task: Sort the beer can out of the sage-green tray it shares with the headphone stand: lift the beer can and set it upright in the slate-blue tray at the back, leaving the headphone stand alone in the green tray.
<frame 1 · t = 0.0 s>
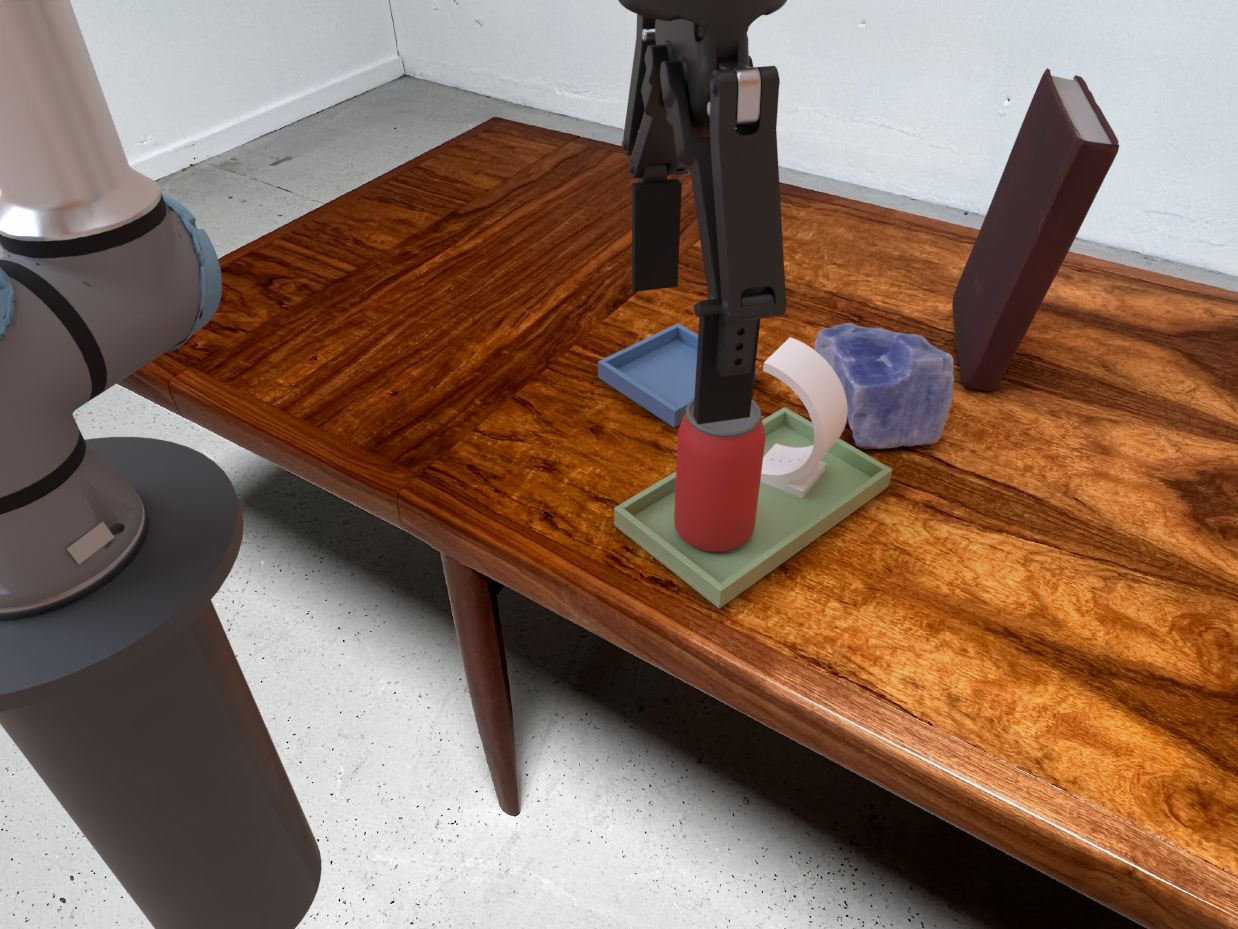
hand: (684, 345, 50), 25 cm above the table, tool pointing down, fingers open, 13 cm apart
mineral: (871, 409, 88), on the table
headphone stand: (793, 477, 80), resting in green tray
book: (985, 354, 96), on the table
beer can: (713, 530, 75), resting on green tray
blue tray: (675, 380, 92), on the table
green tray: (754, 505, 78), on the table
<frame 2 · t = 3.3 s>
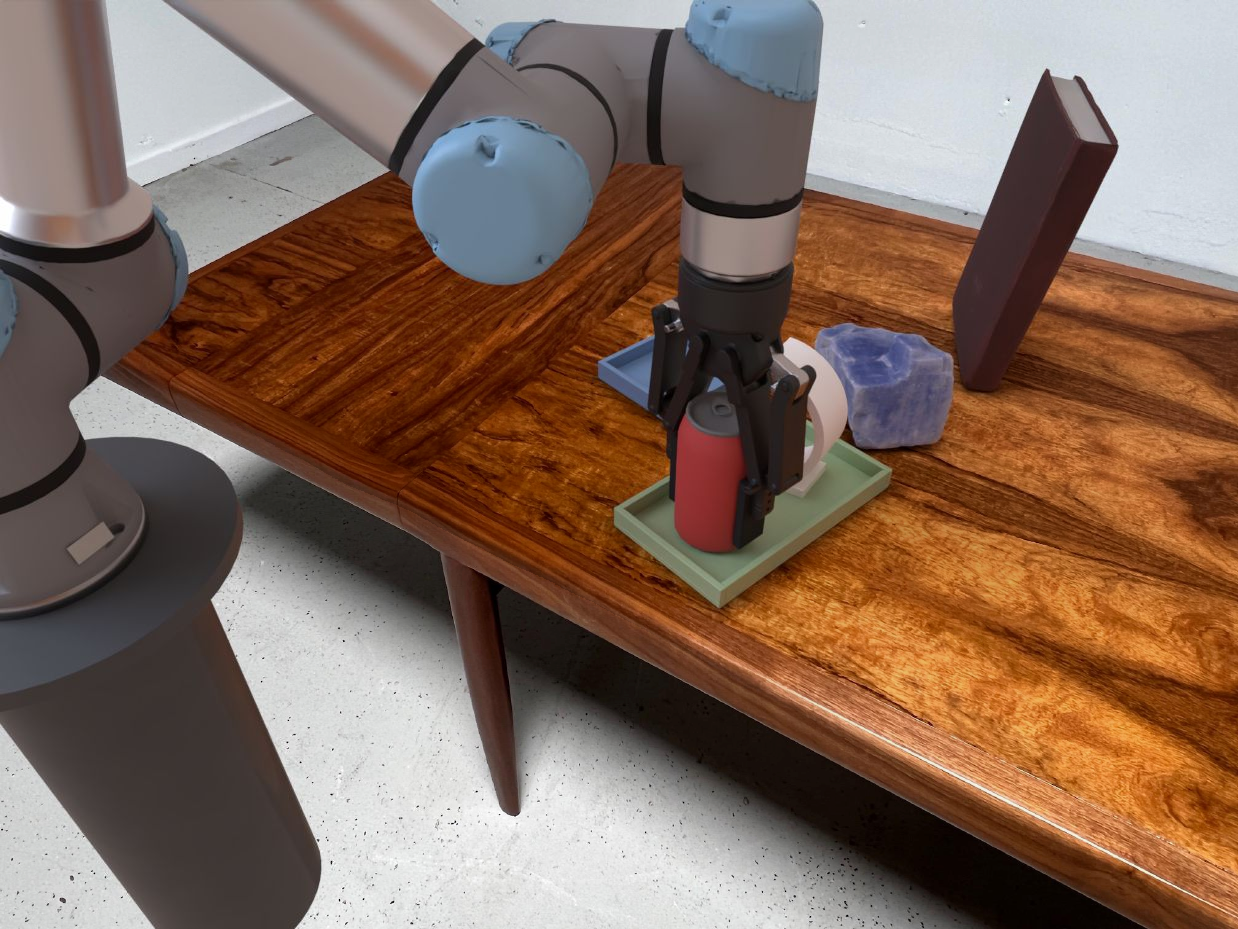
hand: (714, 515, 74), 2 cm above the table, tool pointing down, fingers closed on beer can, 7 cm apart
beer can: (713, 530, 75), resting on green tray, touching gripper
everything else where it was.
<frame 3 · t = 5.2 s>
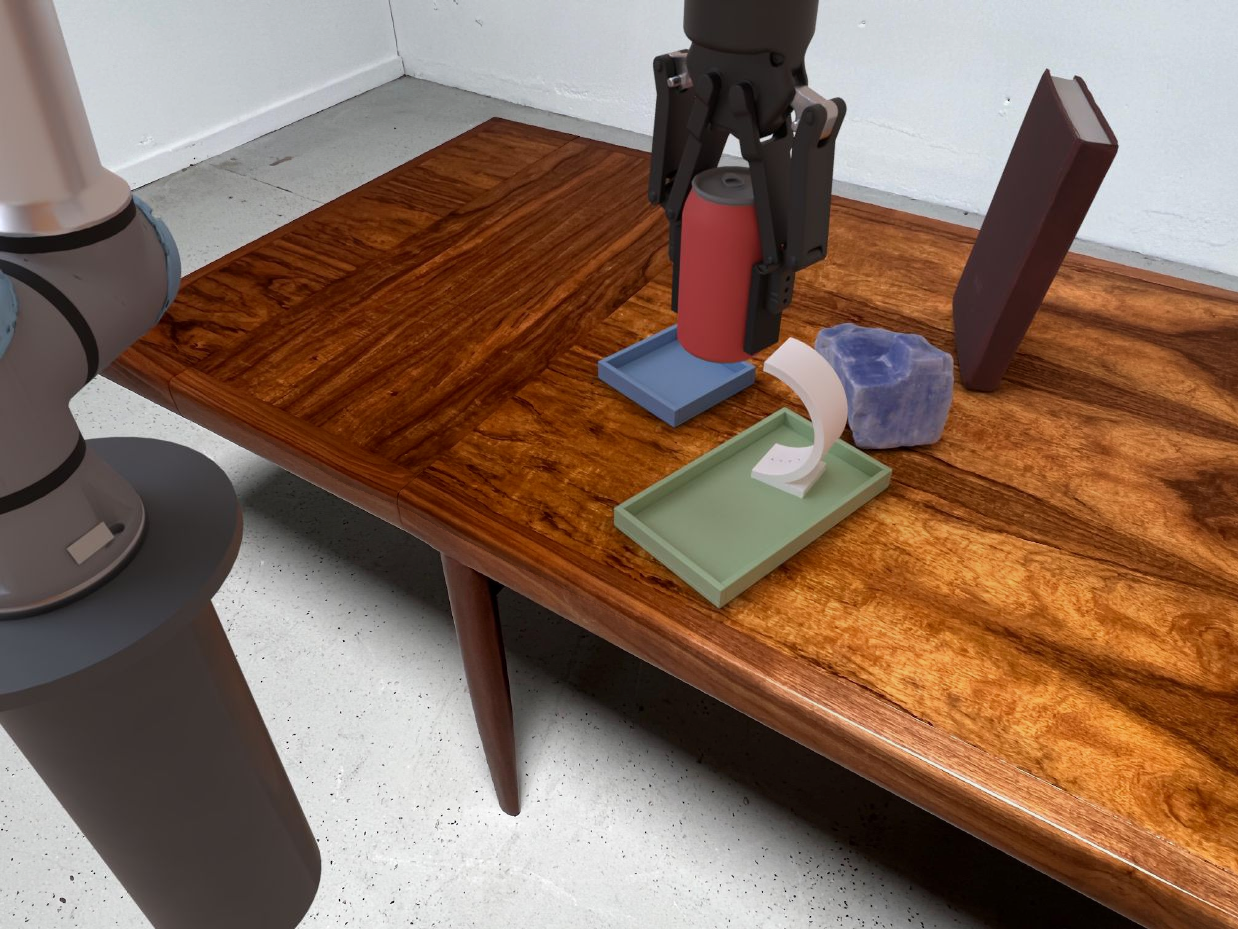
hand: (723, 325, 65), 19 cm above the table, tool pointing down, fingers closed on beer can, 6 cm apart
beer can: (721, 345, 66), point 17 cm above the table, touching gripper
everything else where it was.
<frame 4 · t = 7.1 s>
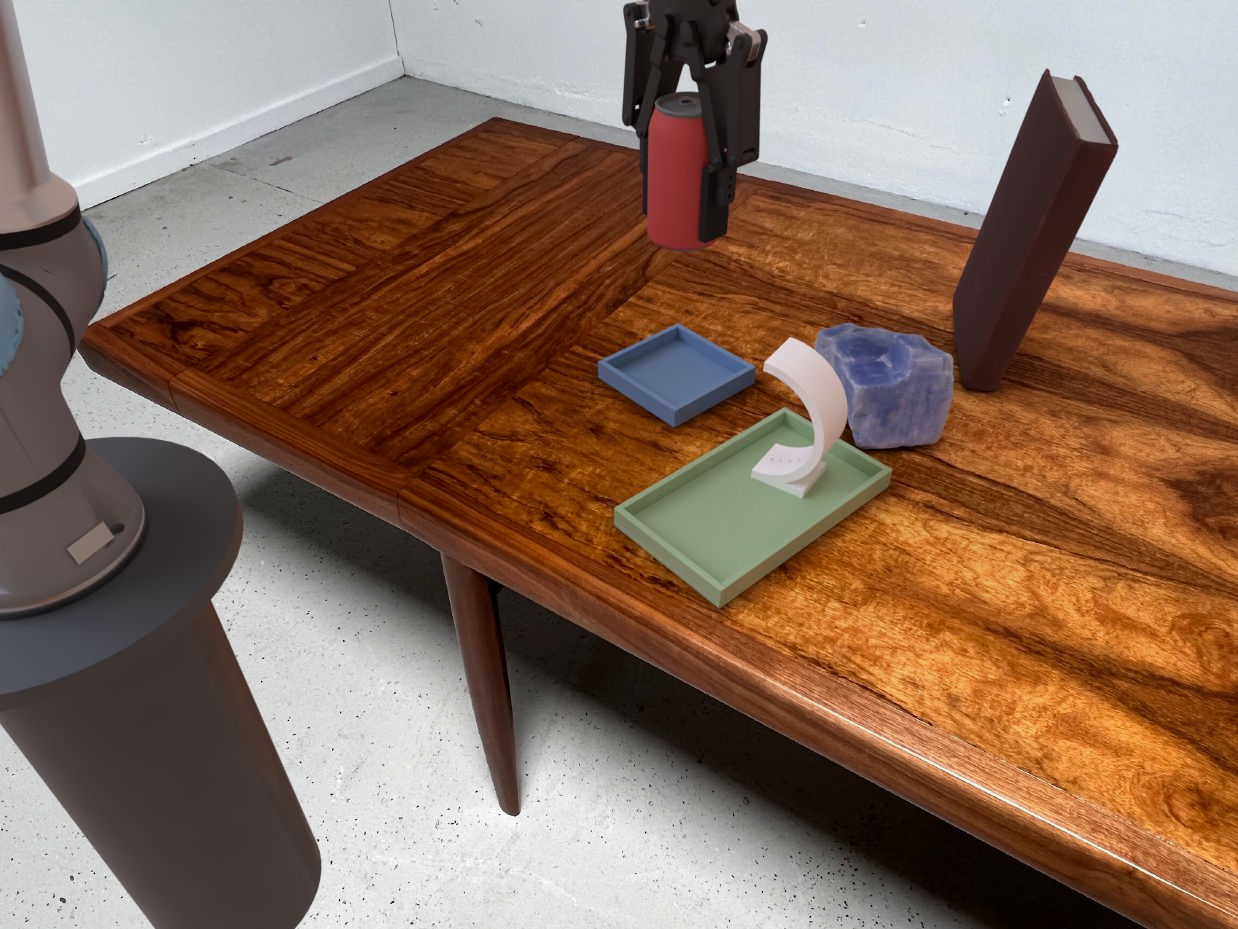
hand: (683, 223, 81), 17 cm above the table, tool pointing down, fingers closed on beer can, 6 cm apart
beer can: (683, 240, 82), point 15 cm above the table, touching gripper
everything else where it was.
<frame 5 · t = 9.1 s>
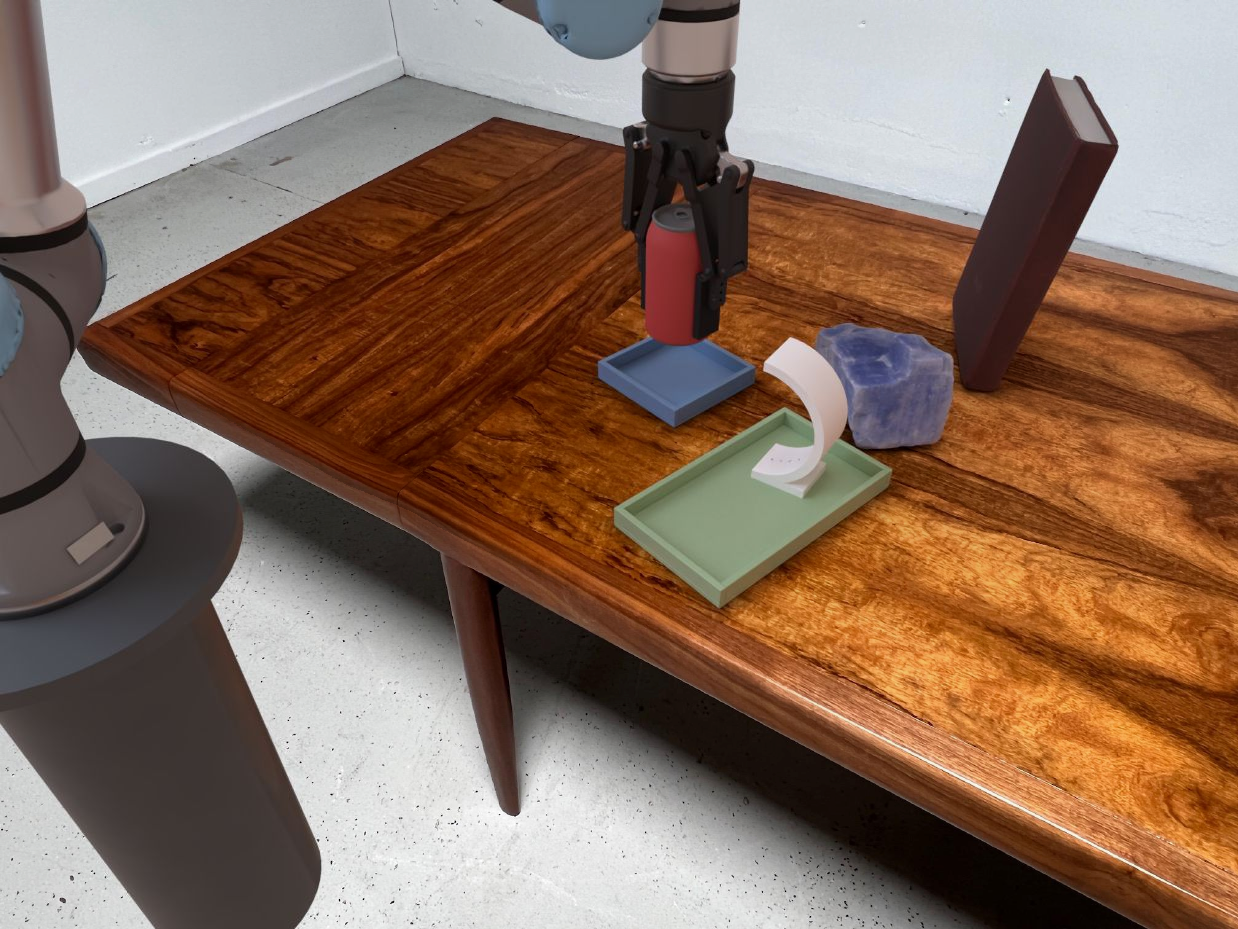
hand: (679, 318, 87), 7 cm above the table, tool pointing down, fingers closed on beer can, 6 cm apart
beer can: (678, 333, 88), point 6 cm above the table, touching gripper
everything else where it was.
when the fingers open (2 cm above the table, at t = 11.3 s): beer can stays where it is, resting on blue tray.
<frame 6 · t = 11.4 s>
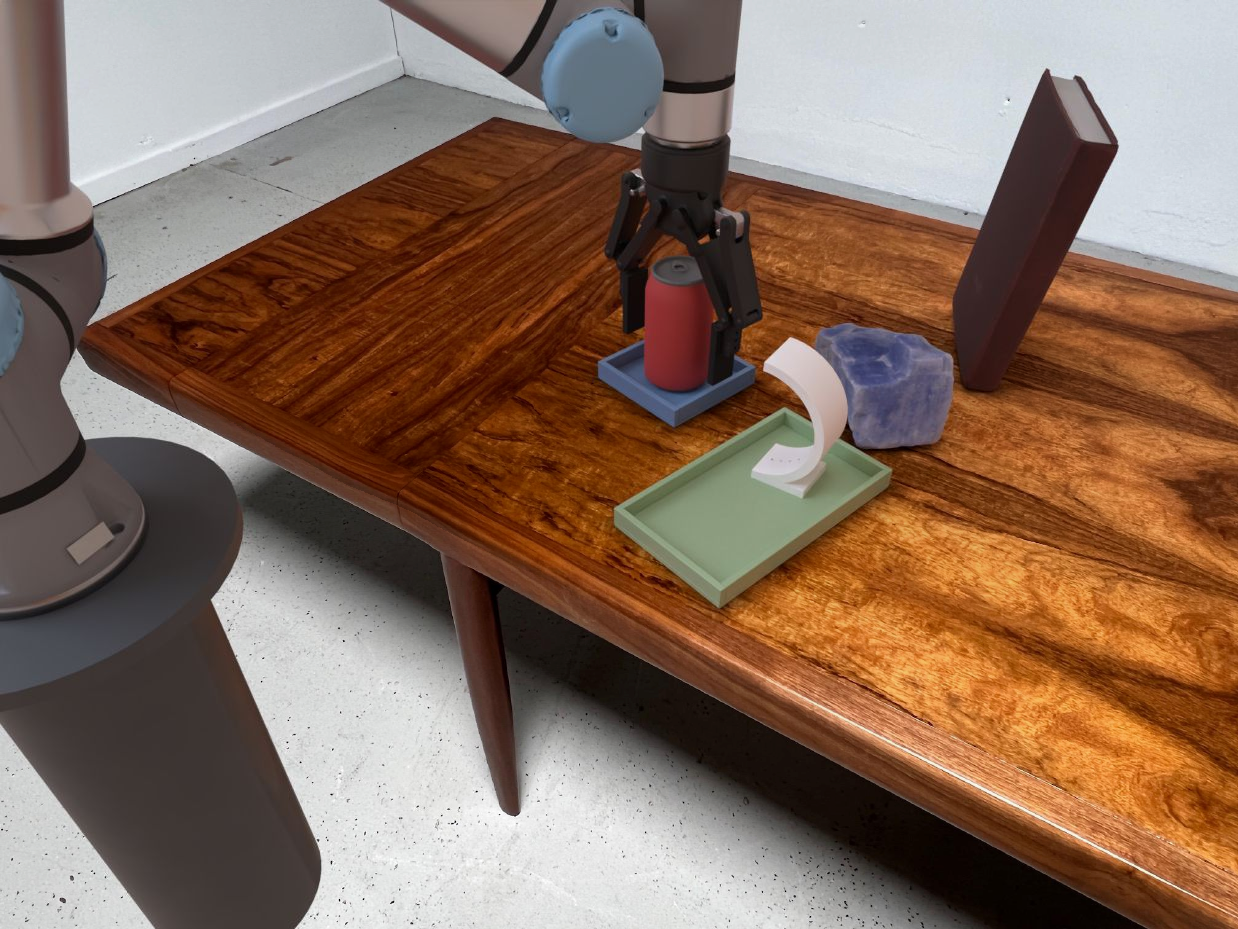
hand: (675, 353, 90), 3 cm above the table, tool pointing down, fingers open, 11 cm apart
beer can: (676, 377, 92), resting on blue tray
everything else where it was.
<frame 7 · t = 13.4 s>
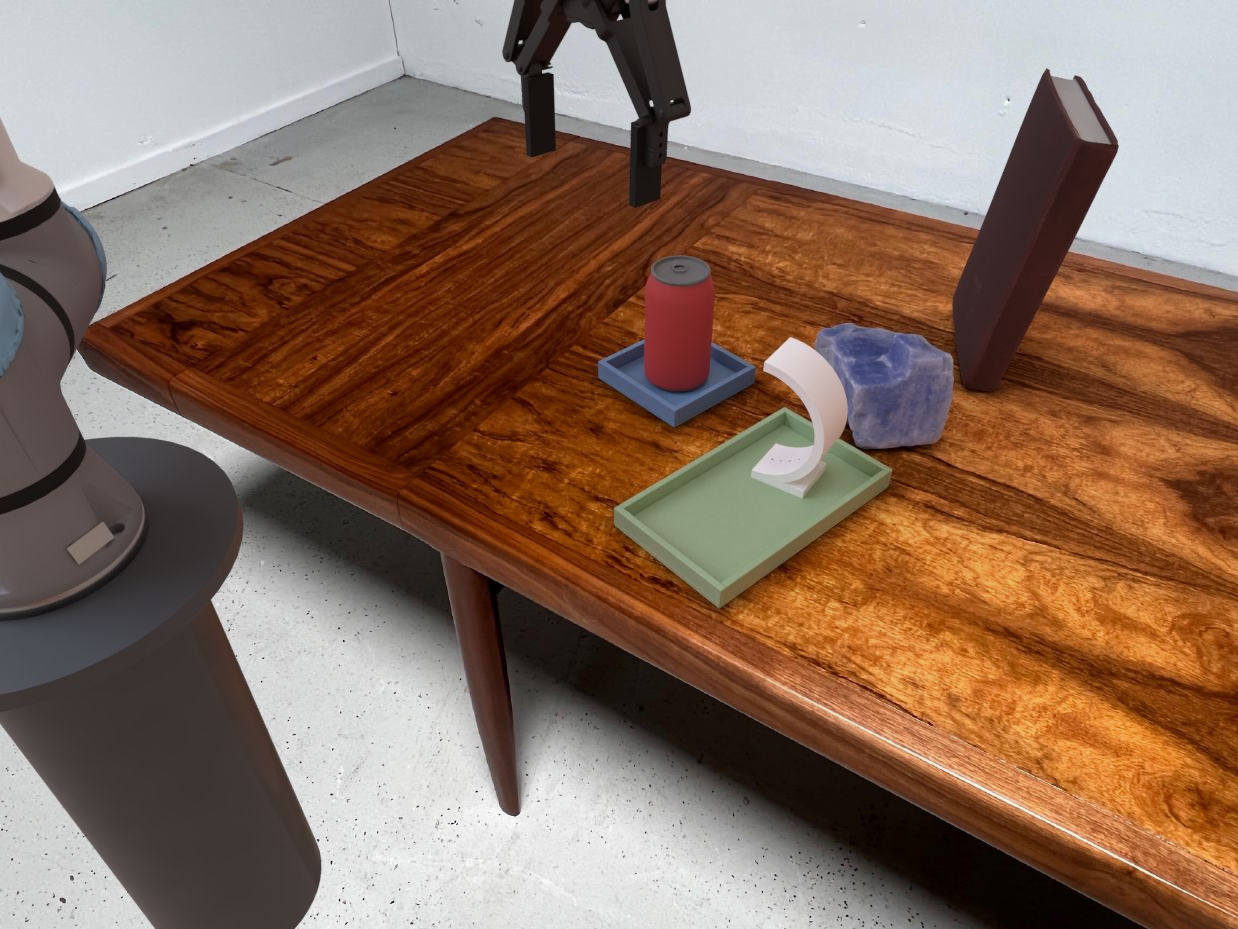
hand: (590, 176, 77), 22 cm above the table, tool pointing down, fingers open, 13 cm apart
nothing on the table moved.
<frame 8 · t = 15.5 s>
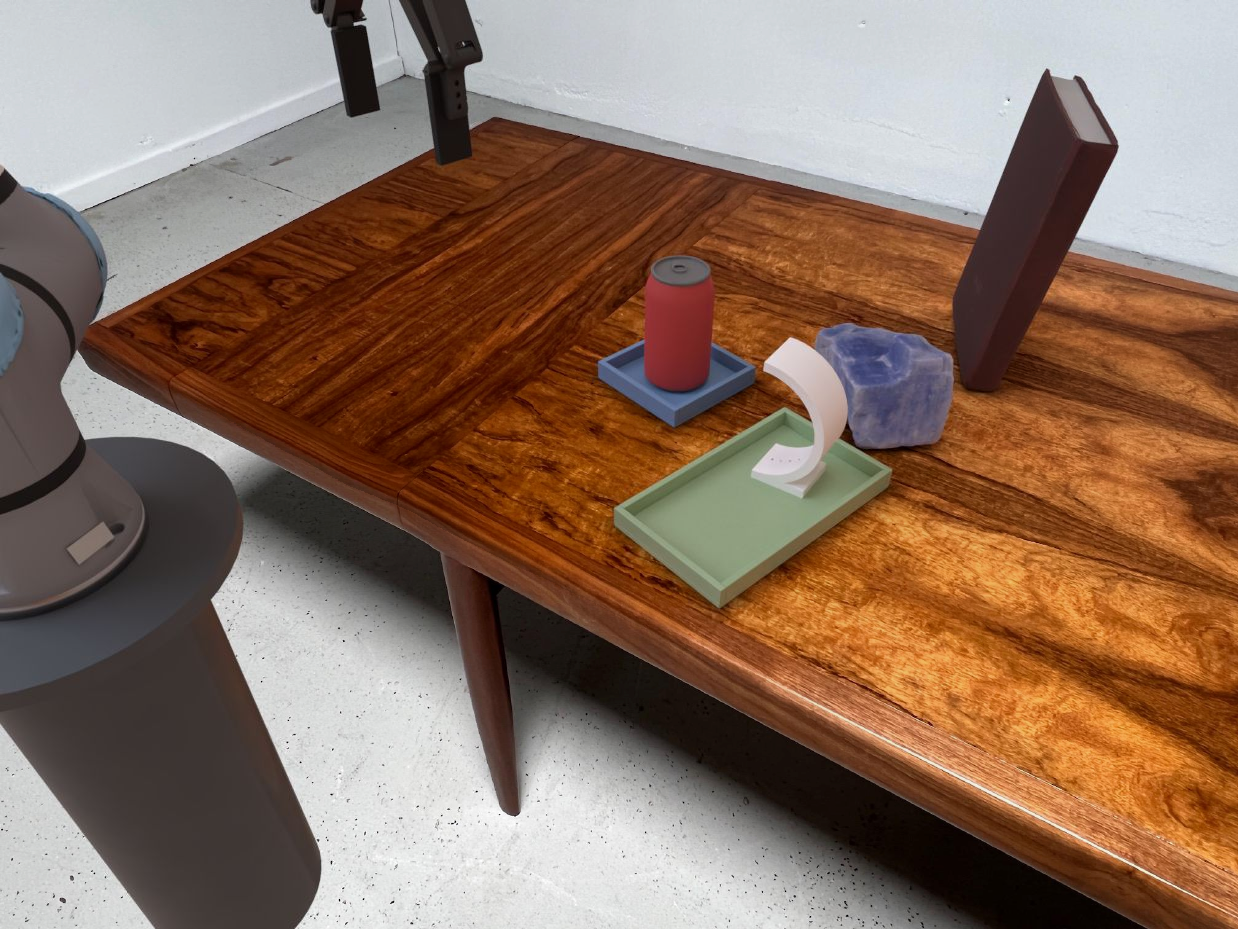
hand: (406, 135, 71), 27 cm above the table, tool pointing down, fingers open, 13 cm apart
nothing on the table moved.
at the end: beer can inside the target area in the blue tray (0.0 cm from its centre), point 0.3 cm above the blue tray's base; beer can tilted 0°; headphone stand inside the target area in the green tray (5.0 cm from its centre), point 0.3 cm above the green tray's base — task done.
